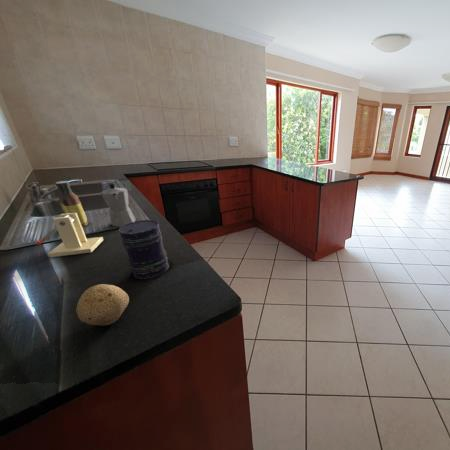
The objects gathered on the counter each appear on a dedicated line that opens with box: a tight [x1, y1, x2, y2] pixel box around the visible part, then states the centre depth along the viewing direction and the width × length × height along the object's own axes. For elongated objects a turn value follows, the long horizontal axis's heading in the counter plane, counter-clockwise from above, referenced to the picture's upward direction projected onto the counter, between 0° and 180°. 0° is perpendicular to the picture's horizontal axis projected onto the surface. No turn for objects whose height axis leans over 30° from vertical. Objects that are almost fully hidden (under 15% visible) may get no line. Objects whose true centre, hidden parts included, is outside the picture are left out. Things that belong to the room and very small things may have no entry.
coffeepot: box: [100, 183, 137, 227], centre depth 106 cm, size 15×9×18 cm, turn 35°
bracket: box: [47, 213, 104, 258], centre depth 84 cm, size 12×10×13 cm
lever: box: [35, 215, 75, 246], centre depth 82 cm, size 13×5×2 cm
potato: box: [75, 283, 130, 327], centre depth 53 cm, size 9×9×10 cm
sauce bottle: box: [55, 180, 89, 228], centre depth 101 cm, size 7×6×20 cm
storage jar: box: [118, 219, 170, 280], centre depth 71 cm, size 10×10×15 cm
